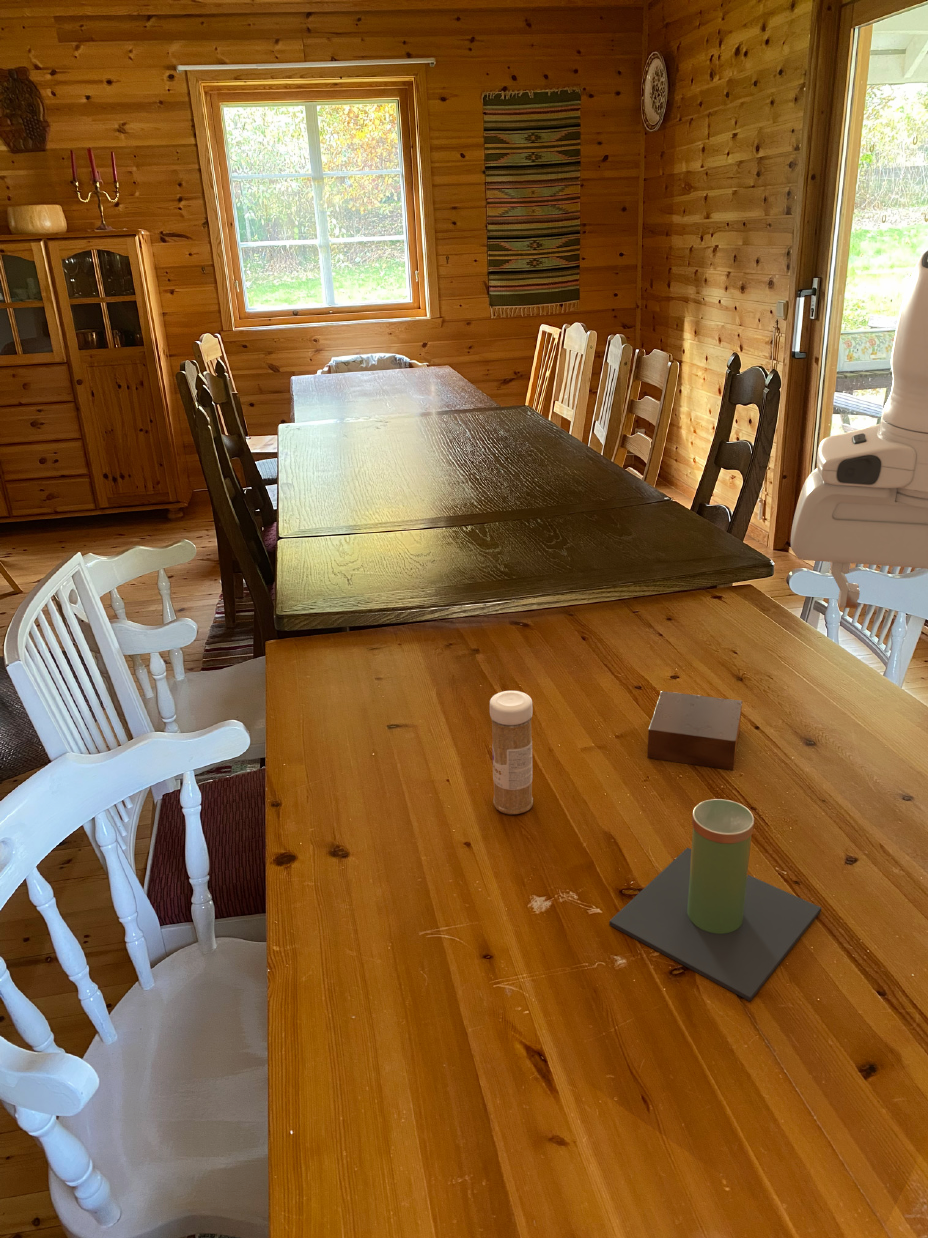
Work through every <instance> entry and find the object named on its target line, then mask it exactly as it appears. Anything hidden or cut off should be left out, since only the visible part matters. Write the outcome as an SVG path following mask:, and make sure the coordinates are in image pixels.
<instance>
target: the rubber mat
mask: <svg viewBox="0 0 928 1238" xmlns="http://www.w3.org/2000/svg"><path fill="white" fill-rule="evenodd" d="M690 863H691V848H690V847H686V848H685V849H684V850H683V851H682V852H681V853H680V854H679V855H678V856H677V857H675V858H674V860H672V861H671V862H670V863H669V864H668V865H667V866H666V867H665V868H664V869H663V870H662V871H661V872H659V874H658V875H656V876H655V877H654V878H653V879H652V880H651V881H650V882H649V883H648V884H647V885H646V886H645V887H644V888H643V889H642V890H640V892H638V893H637V894H636V895H635V896H634V897H633V898H632V899H631V900H630V901H629V902H628V903H627V904H626V905H625V906H623V908H621V910H619V911H618V912H617V913H616V914H615V915H614V916H613V917H612V918H611V919H610V920H609V921H608V922H609V923H608V924H609V926H610V927H612V928H613V929H616V930H617V931H620V932H621V933H623V934H625V935H627V936H628V937H631V938H632V939H634V940H636V941H638V942H640V943H642V944H643V945H645V946H646V947H649V948H651V949H652V950H655V951H656V952H658V953H660V954H662V955H664V956H665V957H667V958H670V959H671V960H672V961H675V962H676V963H678V964H681V965H682V966H684V967H686V968H688V969H689V970H691V971H693V972H694V973H697V974H699V975H700V976H702V977H704V978H705V979H708V980H709V981H711V982H713V983H715V984H717V985H718V986H720V987H722V988H724V989H726V990H728V991H730V992H732V993H733V994H736V995H737V996H739V997H741V998H742V999H744V1000H746V1001H748V1002H751V1001H752V1000H753V999H754V998H755V996H756V995H757V993H758V992H759V991H760V990H761V989H762V987H763V986H764V985H765V983H766V982H767V981H768V980H769V978H770V977H771V976H772V975H773V973H774V972H775V971H776V969H777V968H778V967H779V966H780V964H781V963H782V962H783V961H784V959H785V958H786V957H787V955H788V954H789V953H790V952H791V951H792V949H793V948H794V946H795V945H796V944H797V943H798V942H799V940H800V939H801V938H802V937H803V936H804V934H805V933H806V931H807V930H808V929H809V927H811V925H812V924H813V922H815V920H816V919H817V917H818V916H819V915H820V913H821V912H822V907H821V906H819V905H816V904H815V903H813V902H810V901H808V900H805V899H803V898H801V897H799V896H797V895H794V894H792V893H790V892H788V891H786V890H784V889H781V888H779V887H776V886H774V885H772V884H770V883H767V882H766V881H763V880H761V879H759V878H757V877H755V876H752V875H750V874H748V876H747V886H746V896H745V906H744V916H743V922H742V924H741V926H740V927H739V928H738V929H737V930H735V931H733V932H730V933H724V934H717V933H711V932H707V931H704V930H702V929H700V928H699V927H697V926H696V925H695V924H693V923H692V921H691V920H690V919H689V916H688V913H687V907H688V892H689V878H690Z"/></svg>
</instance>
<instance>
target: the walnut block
mask: <svg viewBox="0 0 928 1238" xmlns="http://www.w3.org/2000/svg"><path fill="white" fill-rule="evenodd" d="M742 709H743V700H739V699H730V698H724V697H714V696H707V695H699V694H689V693H680V692H673V691H665V690H662V691H660V694H659V697H658V700H657V703H656V706H655V709H654V712H653V715H652V718H651V721H650V724H649V727H648V732H647V752H646V753H647V755H646V757H647V759H650V760H651V759H653V760H659V761H665V762H672V763H673V762H674V763H681V764H686V765H693V766H701V767H706V768H715V769H722V770H726V771H734V768H735V762H736V756H737V749H738V743H739V736H740V731H741V721H742Z"/></svg>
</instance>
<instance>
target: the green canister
mask: <svg viewBox="0 0 928 1238" xmlns="http://www.w3.org/2000/svg"><path fill="white" fill-rule="evenodd" d="M691 820H692V821H691V823H692V824H691V825H692V836H691V837H692V838H691V848H690V849H691V863H690V878H689V892H688V907H687V913H688V916H689V919H690V920H691V921H692V923H693V924H695V925H696V926H697V927H699V928H700V929H702V930H704V931H707V932H711V933H717V934H724V933H730V932H733V931H735V930H737V929H738V928H739V927H740V926H741V924H742V922H743V916H744V906H745V896H746V886H747V876H748V875H749V866H750V856H751V855H750V854H751V845H752V835H753V833H754V826H755V818H754V815H753V813H752V812H751V810H749V808H747V807H746V806H744V805H743V804H741V803H739V802H736V801H734V800H729V799H722V798H712V799H711V798H710V799H707V800H704V801H701V802H699V803H698V804H696V806H695V807H694V808H693V811H692V818H691Z"/></svg>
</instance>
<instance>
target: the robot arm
mask: <svg viewBox="0 0 928 1238" xmlns="http://www.w3.org/2000/svg"><path fill="white" fill-rule="evenodd" d="M890 366H891V372H892V373H891V374H892V384H891V389H890V393H889V396H888V399H887V401H886V403H885V404H884V407H883V409H882V413H881V418H880V419H881V420H880V423H878V424H874V425H871V426H867V427H862V428H859V429H855V430H852V431H851V430H850V431H847V432H843V433H838V434H834V435H830V436H827V437H825V438H823V439H822V440H821V442H820V443H819V446H818V448H817V454H816V466H817V468H815V469H814V470H813V471H811V473H809V475H808V476H807V477H806V479H805V481H804V483H803V485H802V488H801V491H800V494H799V497H798V500H797V504H796V507H795V511H794V516H793V520H792V524H791V525H792V526H791V532H790V549H791V551H792V552H793V554H794V555H795V556H796V558H797V559H798V560H801V561H811V562H812V561H813V562H826V563H827V562H828V563H829V564H830V572H831V575H832V577H833V579H834V581H835V583H836V585H837V587H838V588H839V590H838V599H837V602H838V608H843V609H855V610H857V609H858V605H859V601H858V600H859V599H860V593H861V592H860V585H859V583H855V582H854V583H853V582H849V580H848V578H847V575H846V574H849V572H850V568H851V567H850V566H851V564H854V565H855V564H856V565H869V566H882V567H883V566H884V567H895V568H897V567H898V568H910V569H911V568H913V569H923V570H924V569H926V570H928V250H926V251H925V252H924V253H923V254H922V255H921V256H920V258H919V259H918V261H917V263H916V265H915V267H914V269H913V271H912V273H911V275H910V278H909V280H908V283H907V286H906V288H905V292H904V296H903V299H902V303H901V306H900V310H899V315H898V319H897V323H896V329H895V335H894V340H893V345H892V351H891V358H890Z"/></svg>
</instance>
